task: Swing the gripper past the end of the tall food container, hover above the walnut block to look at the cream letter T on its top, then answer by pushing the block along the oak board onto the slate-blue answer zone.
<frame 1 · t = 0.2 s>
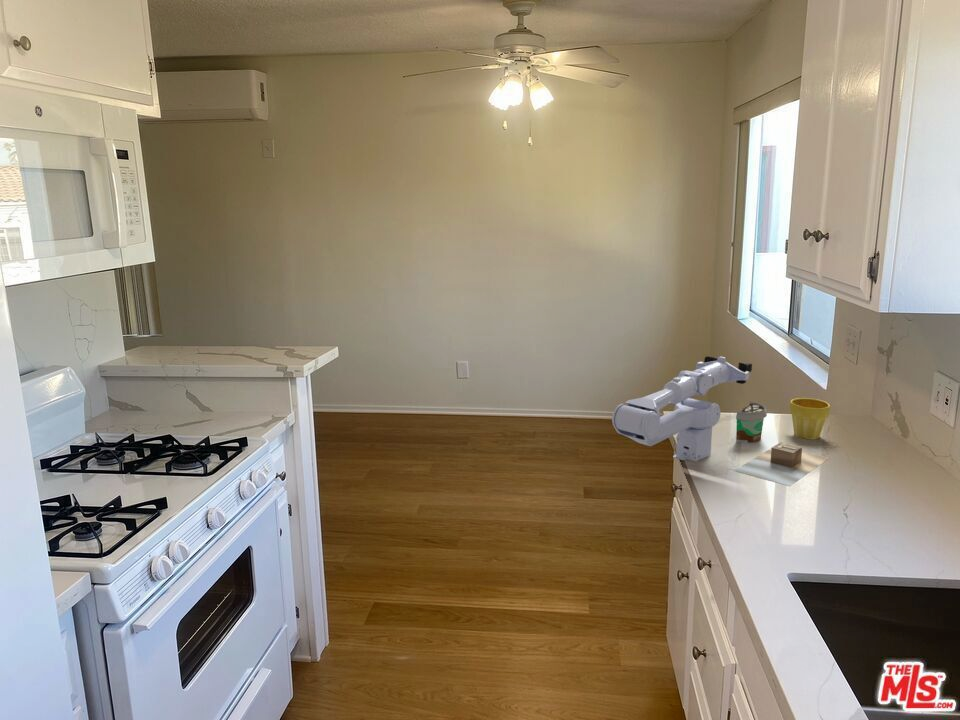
hand: (737, 364, 200), 22 cm above the worktop, tool horizontal, fingers open, 7 cm apart
food container: (752, 442, 202), on the worktop
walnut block: (785, 462, 184), point 1 cm above the worktop, touching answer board
plant pot: (807, 436, 206), on the worktop
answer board: (782, 467, 183), on the worktop
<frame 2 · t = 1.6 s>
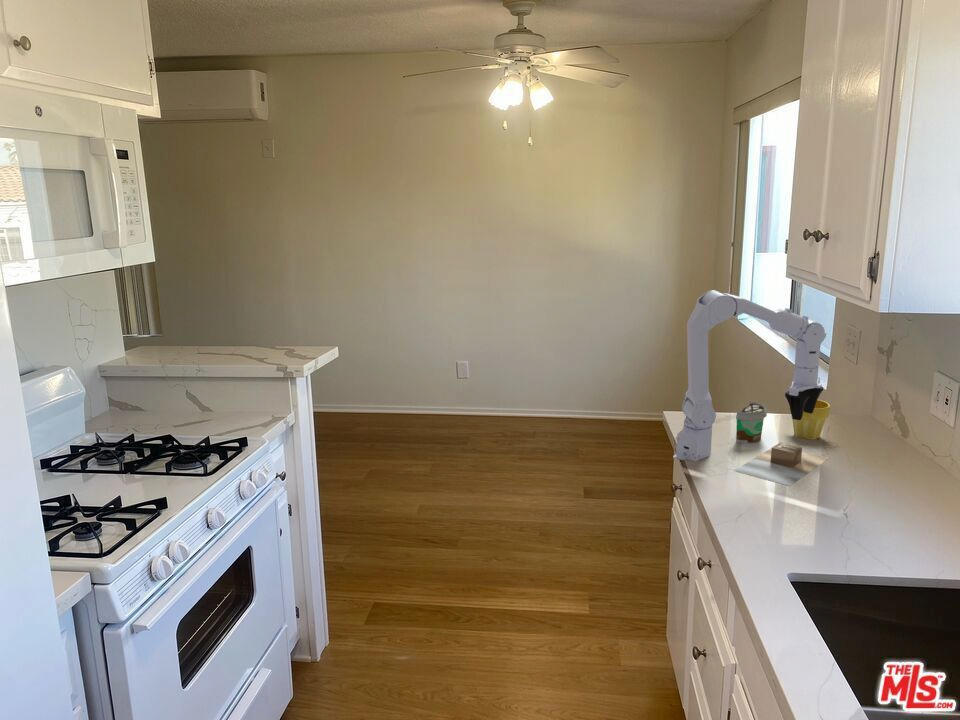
hand: (802, 415, 190), 10 cm above the worktop, tool pointing down, fingers open, 7 cm apart
nothing on the worktop moved.
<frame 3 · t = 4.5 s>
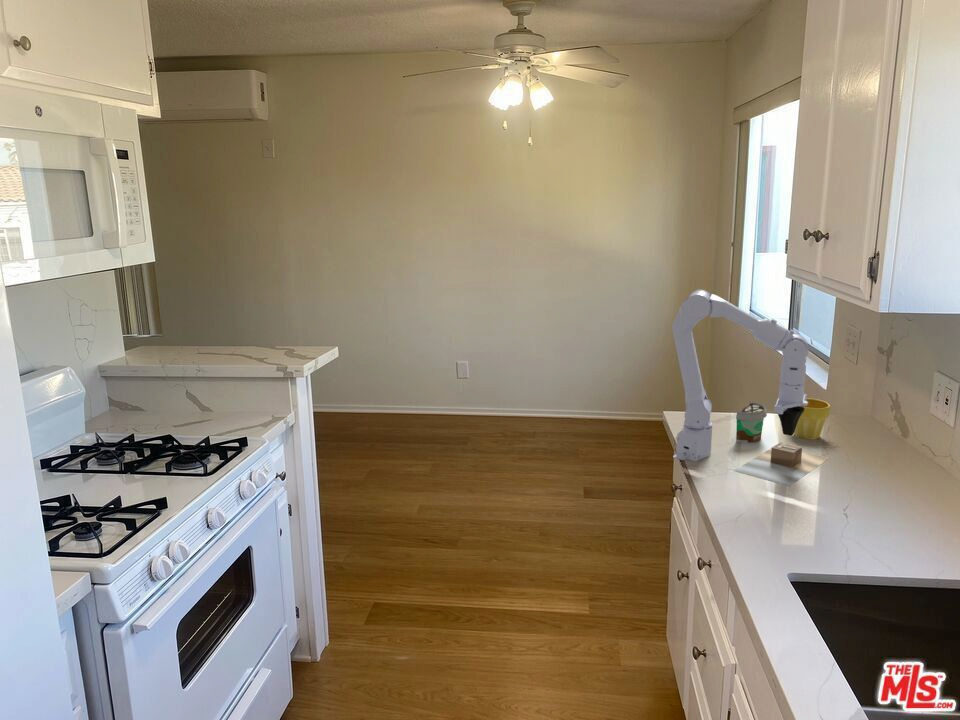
hand: (788, 434, 183), 8 cm above the worktop, tool pointing down, fingers closed
nothing on the worktop moved.
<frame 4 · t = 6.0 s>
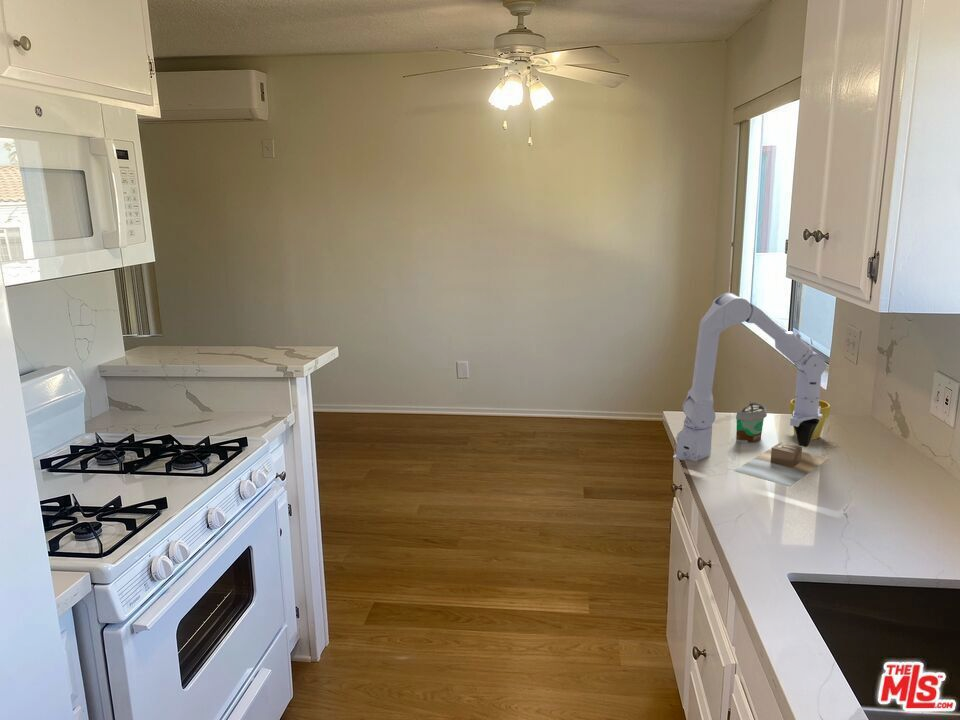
hand: (803, 445, 191), 3 cm above the worktop, tool pointing down, fingers closed
nothing on the worktop moved.
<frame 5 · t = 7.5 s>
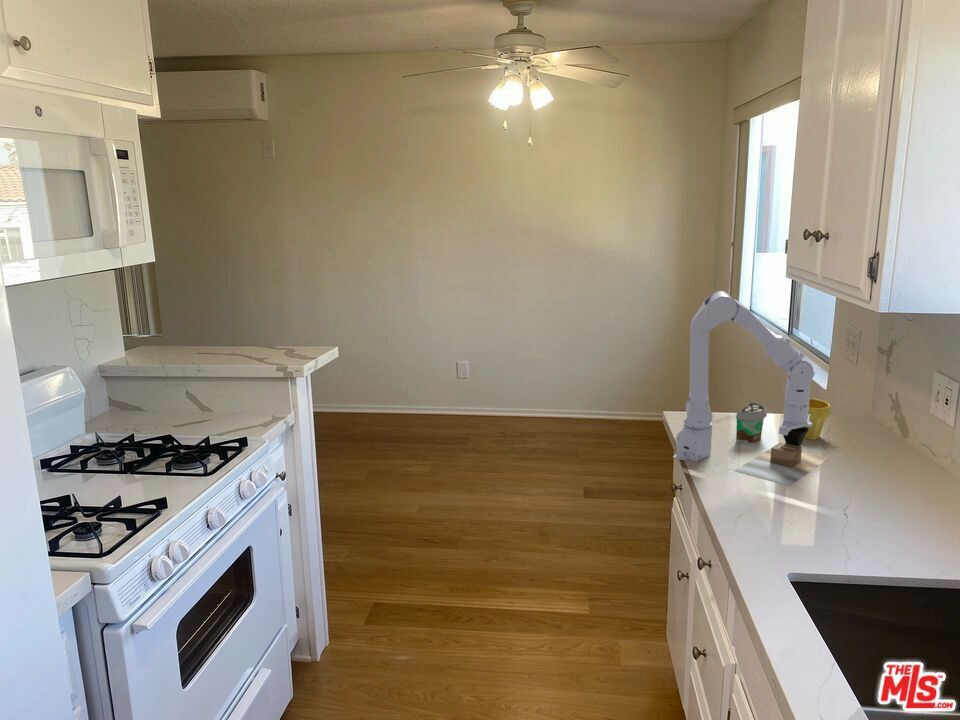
hand: (792, 454, 187), 2 cm above the worktop, tool pointing down, fingers closed
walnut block: (785, 462, 184), point 1 cm above the worktop, touching gripper
everything else where it was.
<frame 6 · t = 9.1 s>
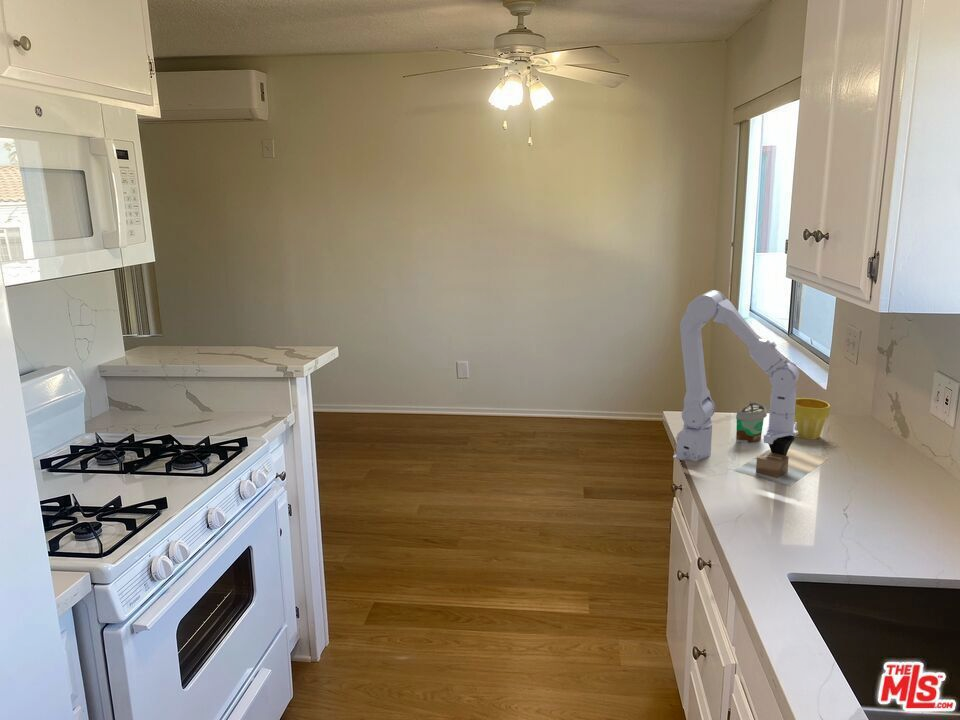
hand: (778, 463, 181), 2 cm above the worktop, tool pointing down, fingers closed
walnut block: (771, 472, 178), point 1 cm above the worktop, touching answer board, gripper
everything else where it was.
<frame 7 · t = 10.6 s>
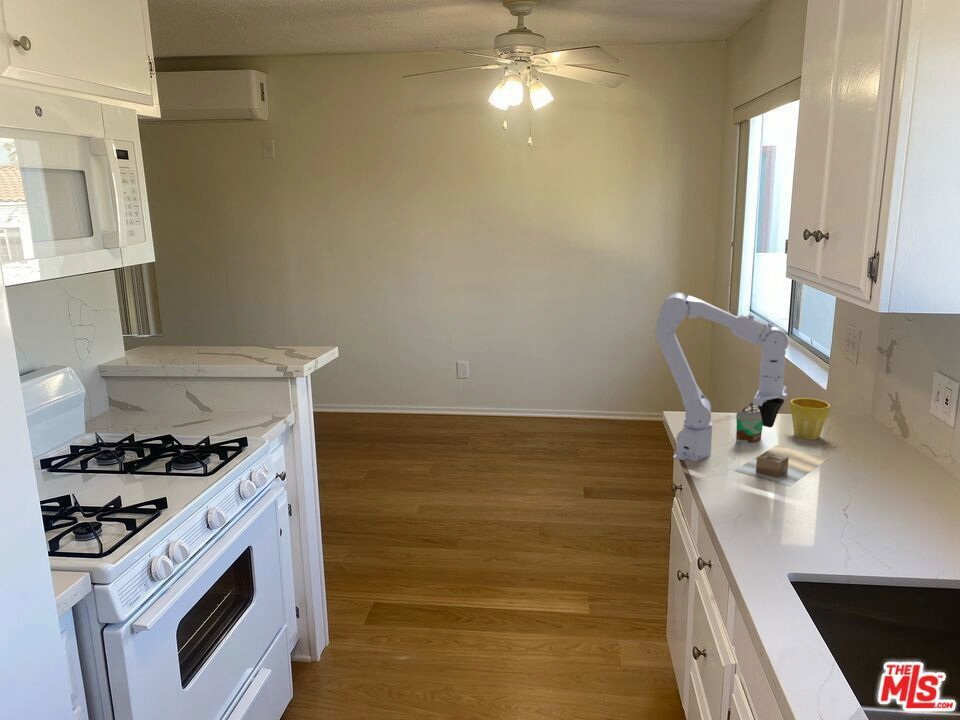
hand: (767, 426, 185), 10 cm above the worktop, tool pointing down, fingers closed
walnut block: (771, 472, 178), point 1 cm above the worktop, touching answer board
everything else where it was.
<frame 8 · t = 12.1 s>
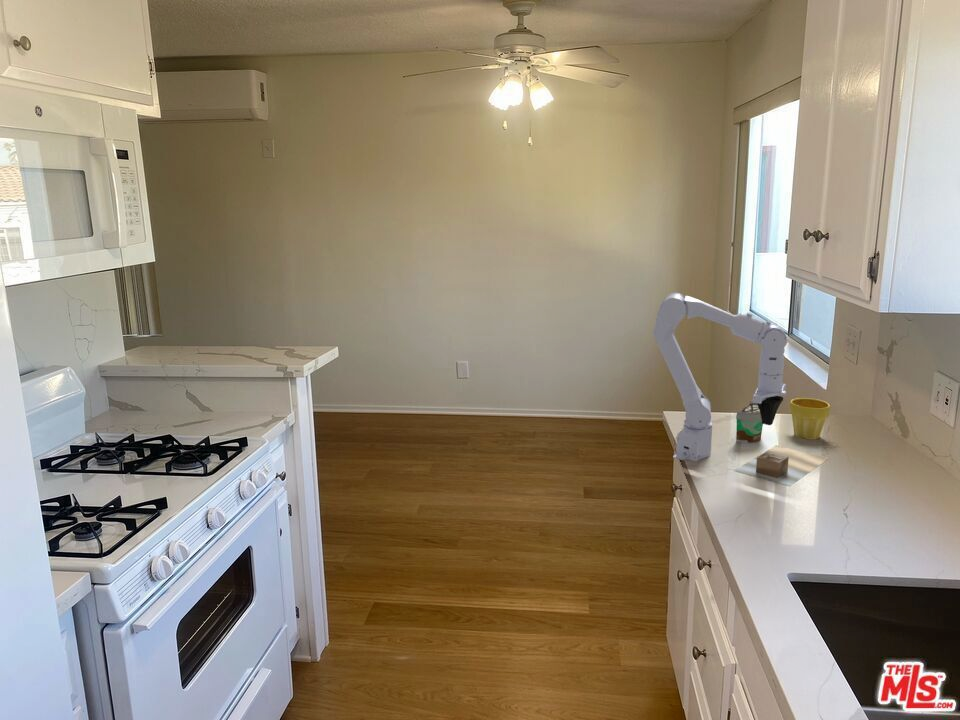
hand: (767, 423, 185), 10 cm above the worktop, tool pointing down, fingers closed
nothing on the worktop moved.
at the end: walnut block inside the target area (0.4 cm from its centre), point 1.0 cm above the worktop; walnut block tilted 0°; food container moved 0.2 cm from its start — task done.
